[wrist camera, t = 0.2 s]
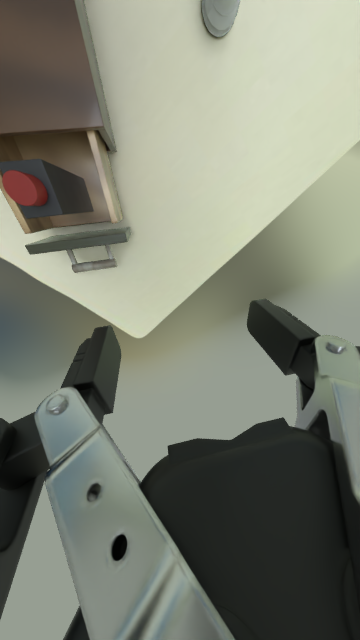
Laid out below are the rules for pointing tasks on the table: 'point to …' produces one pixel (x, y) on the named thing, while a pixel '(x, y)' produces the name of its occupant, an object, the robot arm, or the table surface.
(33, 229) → the drawer
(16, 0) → the cabinet
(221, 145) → the table surface
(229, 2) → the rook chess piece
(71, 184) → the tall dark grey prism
